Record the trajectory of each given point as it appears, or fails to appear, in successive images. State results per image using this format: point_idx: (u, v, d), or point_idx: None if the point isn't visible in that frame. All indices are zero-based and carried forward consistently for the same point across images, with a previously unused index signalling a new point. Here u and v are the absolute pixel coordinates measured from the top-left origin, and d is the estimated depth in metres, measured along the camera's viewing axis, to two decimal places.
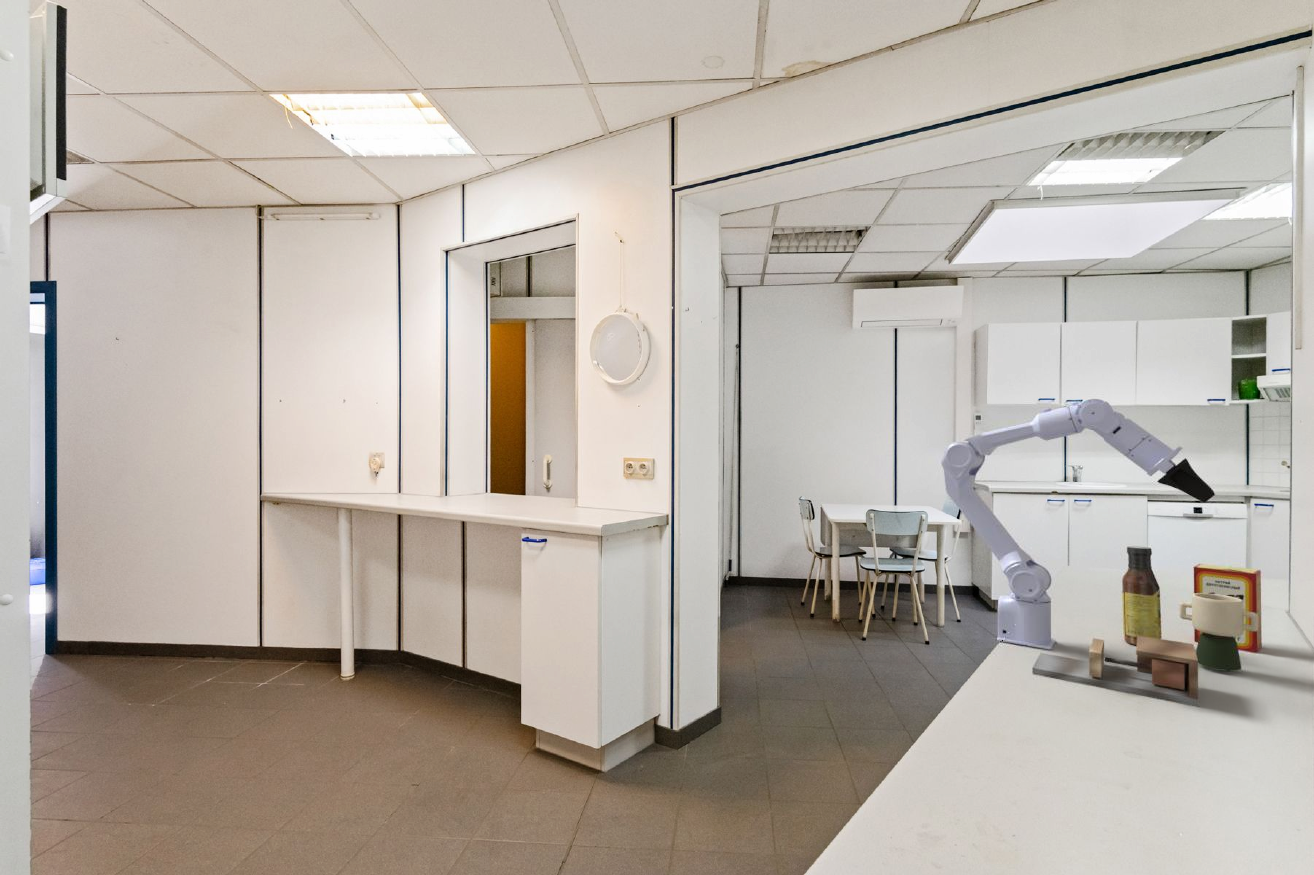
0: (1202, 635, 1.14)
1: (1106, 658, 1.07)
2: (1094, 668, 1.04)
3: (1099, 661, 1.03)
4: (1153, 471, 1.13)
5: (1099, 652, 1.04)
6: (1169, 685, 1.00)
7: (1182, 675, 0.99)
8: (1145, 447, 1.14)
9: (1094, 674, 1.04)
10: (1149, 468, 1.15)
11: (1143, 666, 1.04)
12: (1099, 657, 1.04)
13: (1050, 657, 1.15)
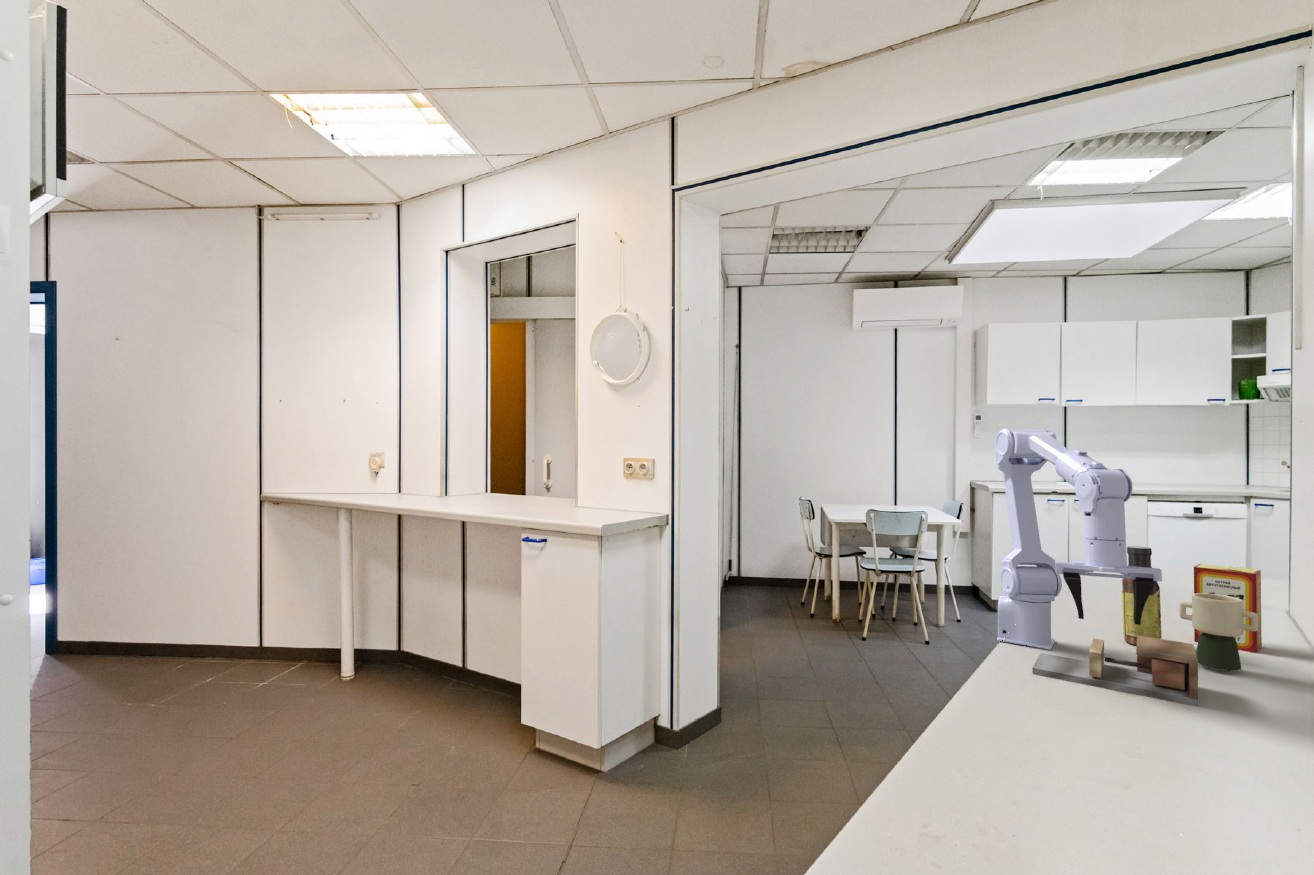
0: (1202, 635, 1.14)
1: (1106, 658, 1.07)
2: (1094, 668, 1.04)
3: (1099, 661, 1.03)
4: None
5: (1099, 652, 1.04)
6: (1169, 685, 1.00)
7: (1182, 675, 0.99)
8: (1085, 545, 1.07)
9: (1094, 674, 1.04)
10: None
11: (1143, 666, 1.04)
12: (1099, 657, 1.04)
13: (1050, 657, 1.15)
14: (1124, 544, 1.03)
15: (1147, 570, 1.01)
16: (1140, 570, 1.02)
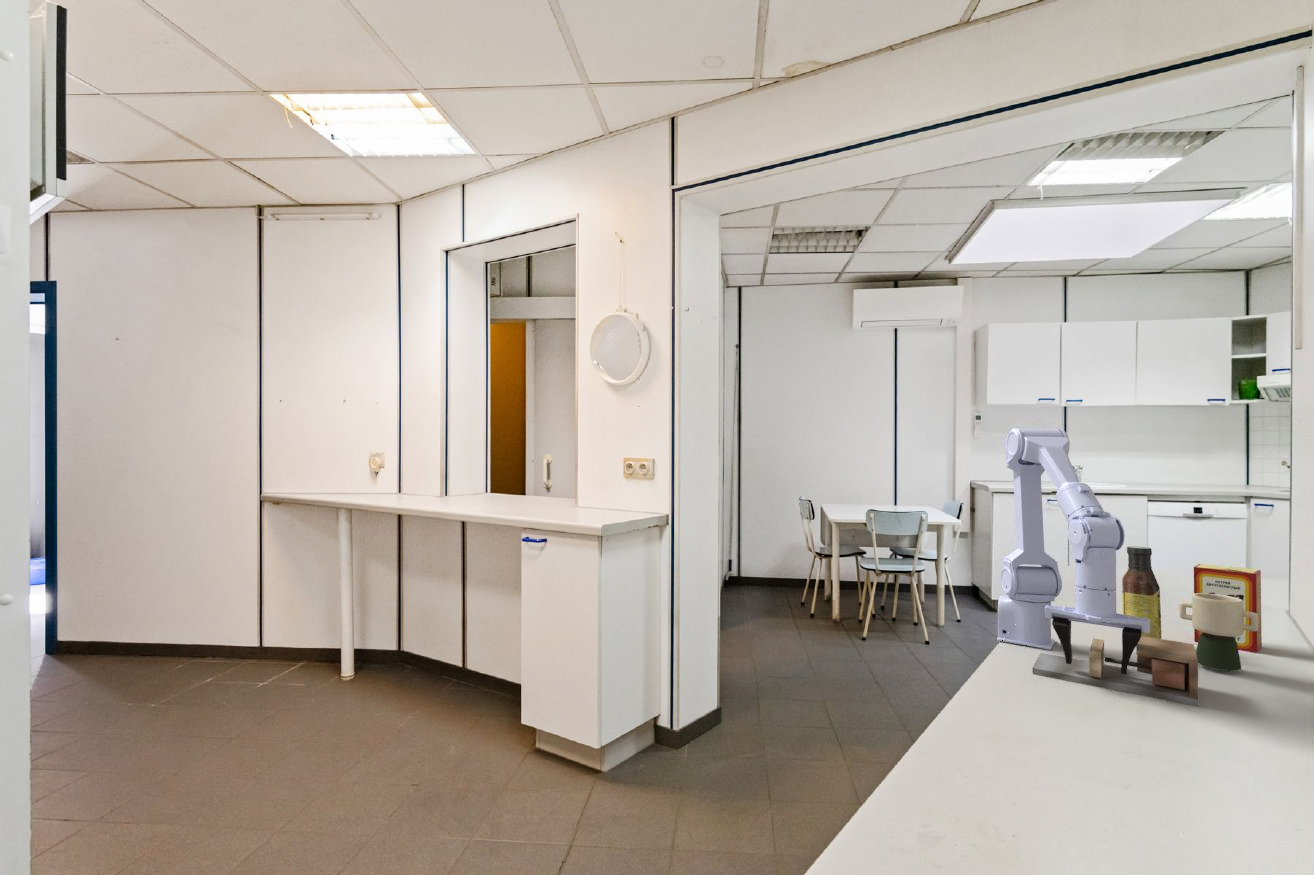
0: (1202, 635, 1.14)
1: (1106, 658, 1.07)
2: (1094, 668, 1.04)
3: (1099, 661, 1.03)
4: None
5: (1099, 652, 1.04)
6: (1169, 685, 1.00)
7: (1182, 675, 0.99)
8: (1075, 591, 1.07)
9: (1094, 674, 1.04)
10: None
11: (1143, 666, 1.04)
12: (1099, 657, 1.04)
13: (1050, 657, 1.15)
14: (1113, 594, 1.03)
15: (1135, 621, 1.01)
16: (1128, 621, 1.02)
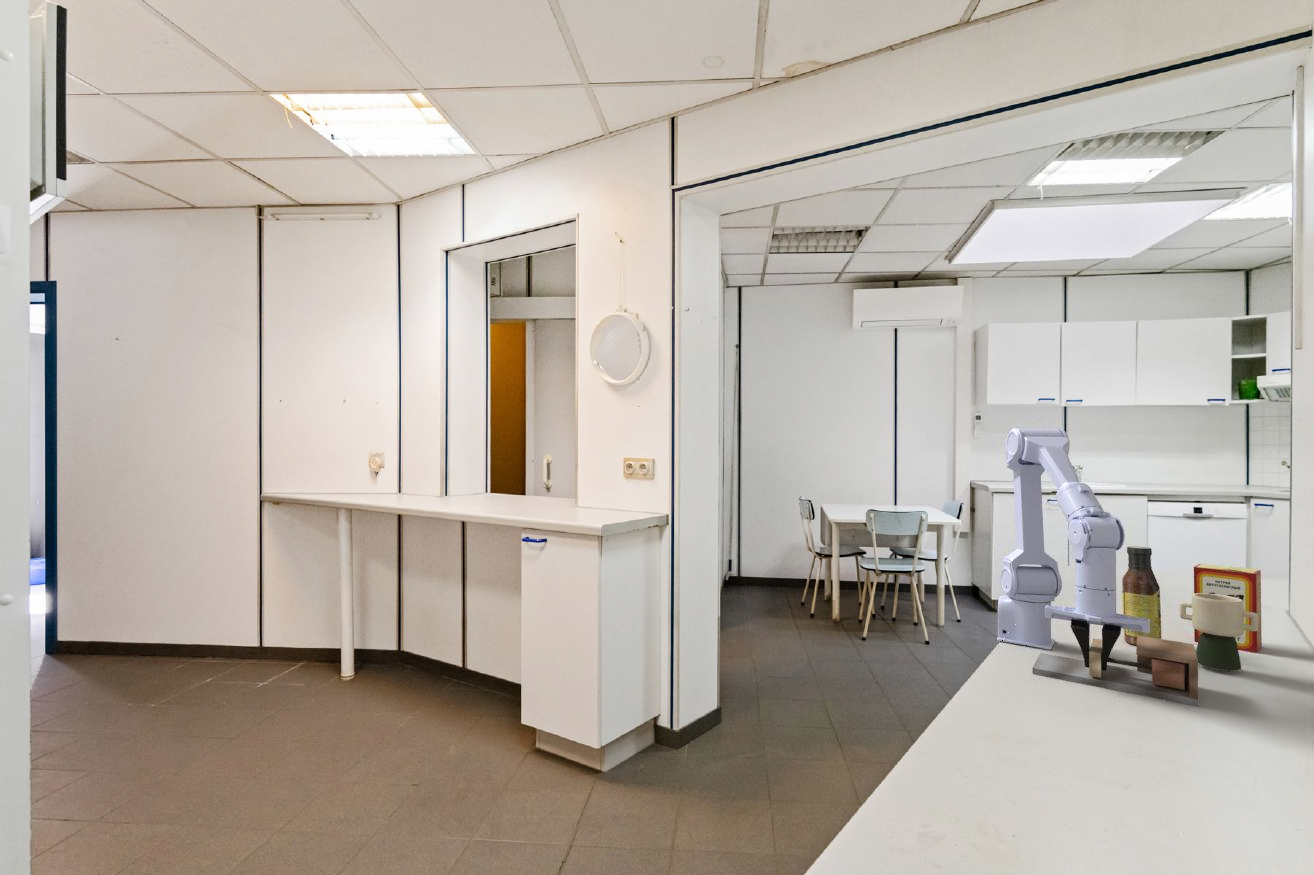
0: (1202, 635, 1.14)
1: None
2: (1094, 668, 1.04)
3: (1099, 661, 1.03)
4: (1070, 610, 1.09)
5: (1099, 652, 1.04)
6: (1169, 685, 1.00)
7: (1182, 675, 0.99)
8: (1075, 591, 1.07)
9: (1094, 674, 1.04)
10: None
11: (1143, 666, 1.04)
12: (1099, 657, 1.04)
13: (1050, 657, 1.15)
14: (1113, 594, 1.03)
15: (1135, 621, 1.01)
16: (1128, 621, 1.02)
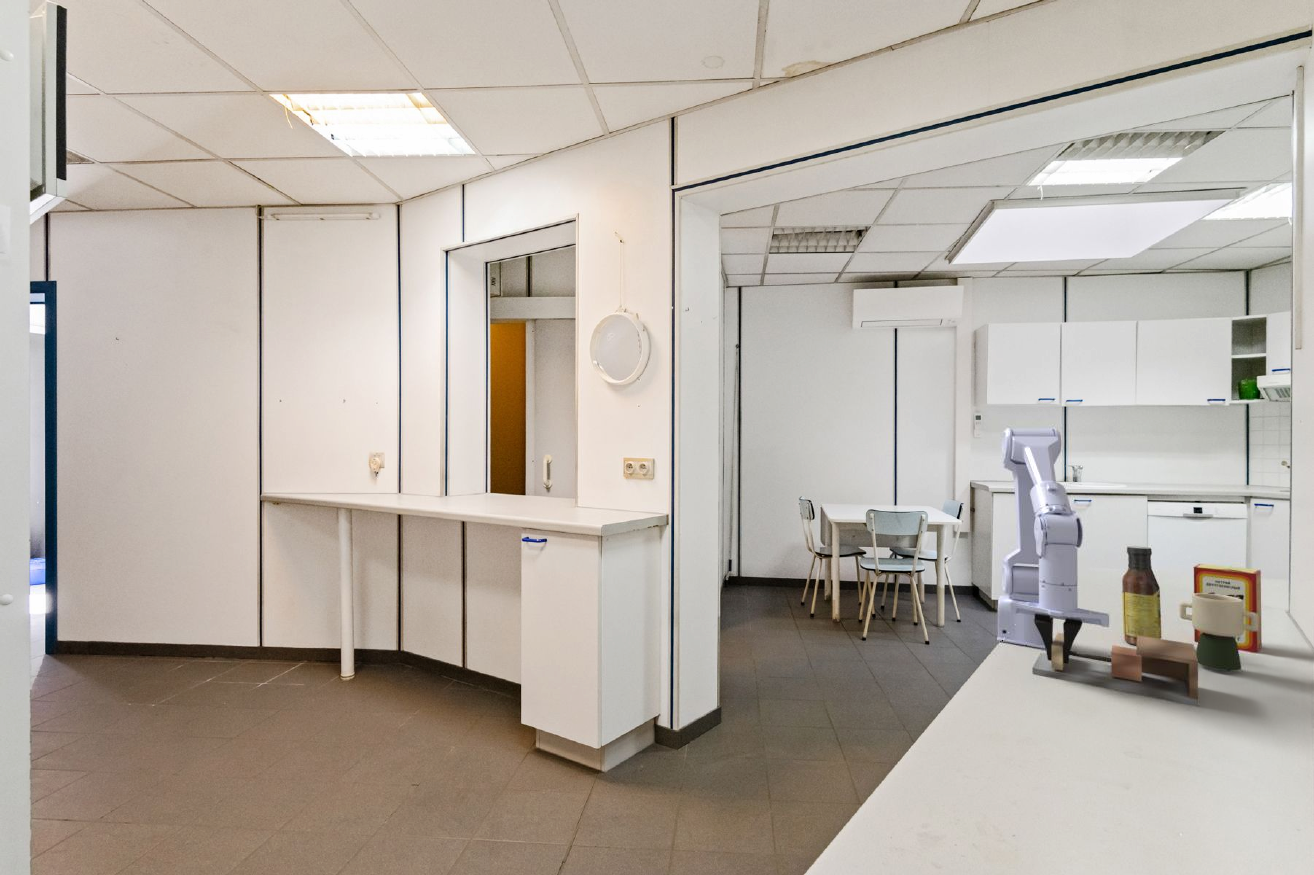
0: (1202, 635, 1.14)
1: None
2: (1056, 661, 1.07)
3: (1061, 654, 1.07)
4: None
5: (1061, 646, 1.07)
6: (1127, 677, 1.03)
7: (1139, 667, 1.02)
8: (1039, 587, 1.10)
9: (1056, 666, 1.07)
10: None
11: (1103, 659, 1.07)
12: (1061, 650, 1.07)
13: None
14: (1074, 589, 1.07)
15: (1095, 615, 1.05)
16: (1088, 615, 1.05)
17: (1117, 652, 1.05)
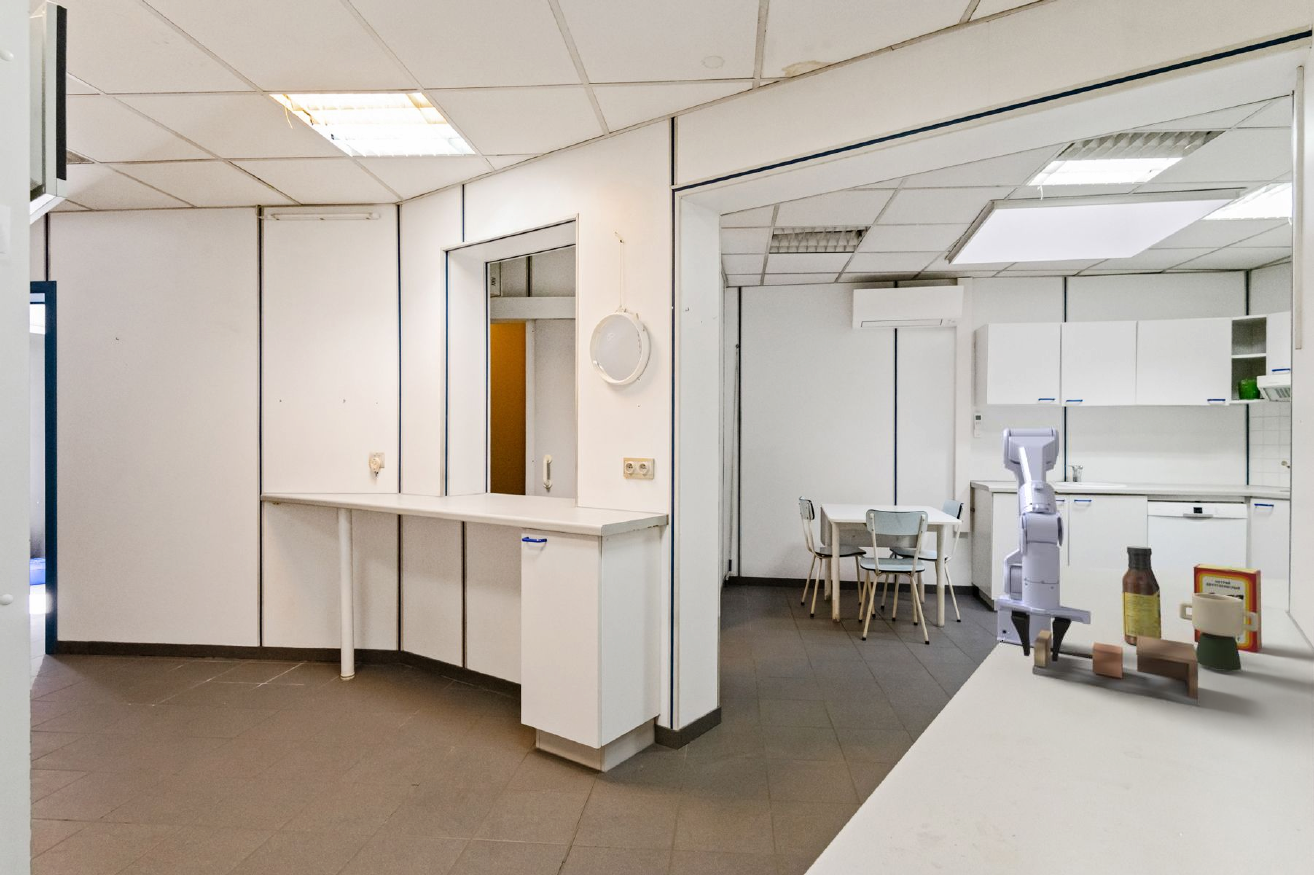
0: (1202, 635, 1.14)
1: (1051, 648, 1.12)
2: (1038, 657, 1.09)
3: (1043, 651, 1.08)
4: None
5: (1043, 643, 1.09)
6: (1108, 674, 1.05)
7: (1120, 664, 1.04)
8: (1022, 585, 1.12)
9: (1038, 663, 1.09)
10: None
11: (1085, 656, 1.08)
12: (1043, 647, 1.08)
13: (1050, 657, 1.15)
14: (1056, 587, 1.08)
15: (1076, 613, 1.06)
16: (1069, 613, 1.07)
17: (1098, 649, 1.06)
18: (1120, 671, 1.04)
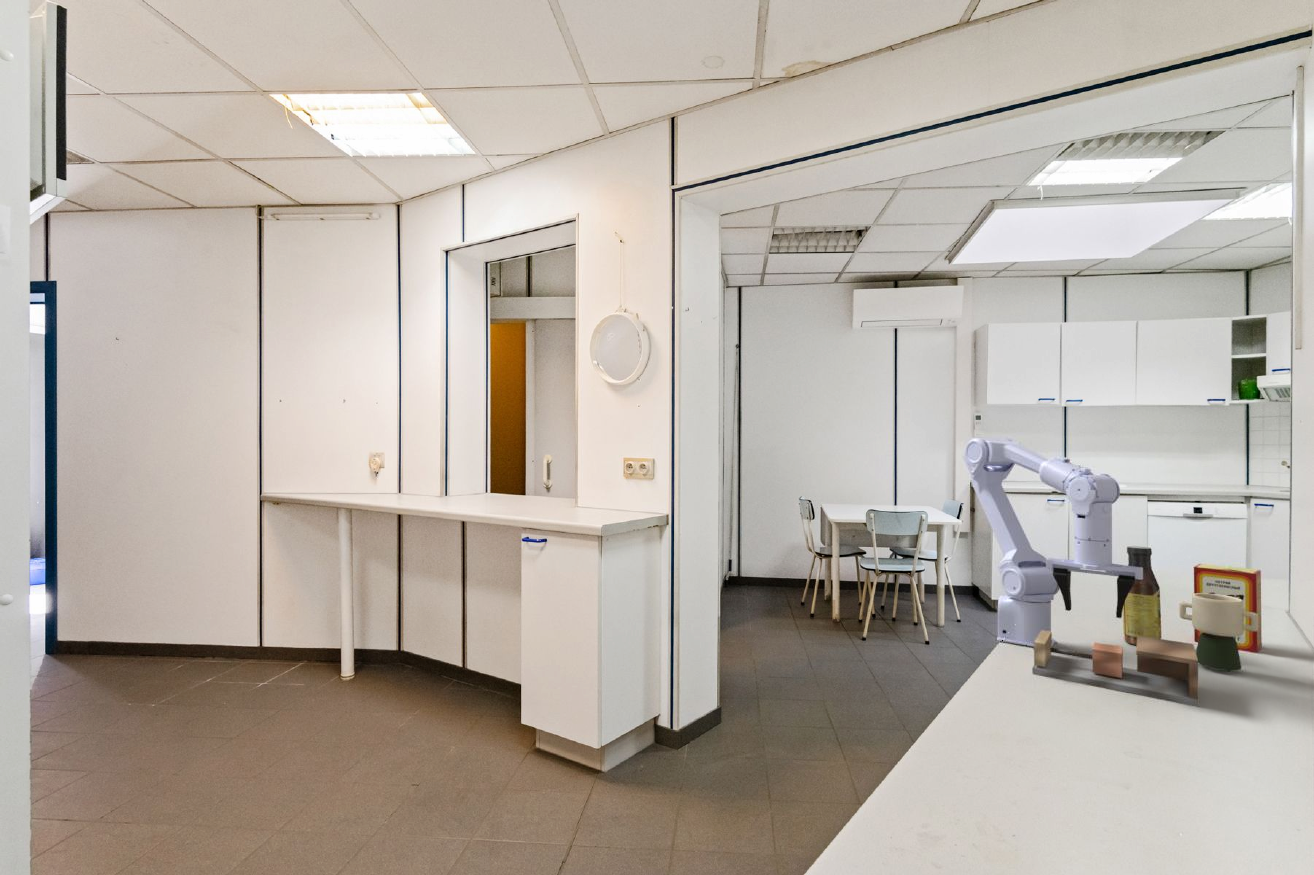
0: (1202, 635, 1.14)
1: (1051, 648, 1.12)
2: (1038, 657, 1.09)
3: (1043, 651, 1.08)
4: None
5: (1043, 643, 1.09)
6: (1108, 674, 1.05)
7: (1120, 664, 1.04)
8: (1074, 544, 1.16)
9: (1038, 663, 1.09)
10: None
11: (1085, 656, 1.08)
12: (1043, 647, 1.08)
13: (1050, 657, 1.15)
14: (1109, 544, 1.12)
15: (1129, 569, 1.10)
16: (1122, 569, 1.11)
17: (1098, 649, 1.06)
18: (1120, 671, 1.04)
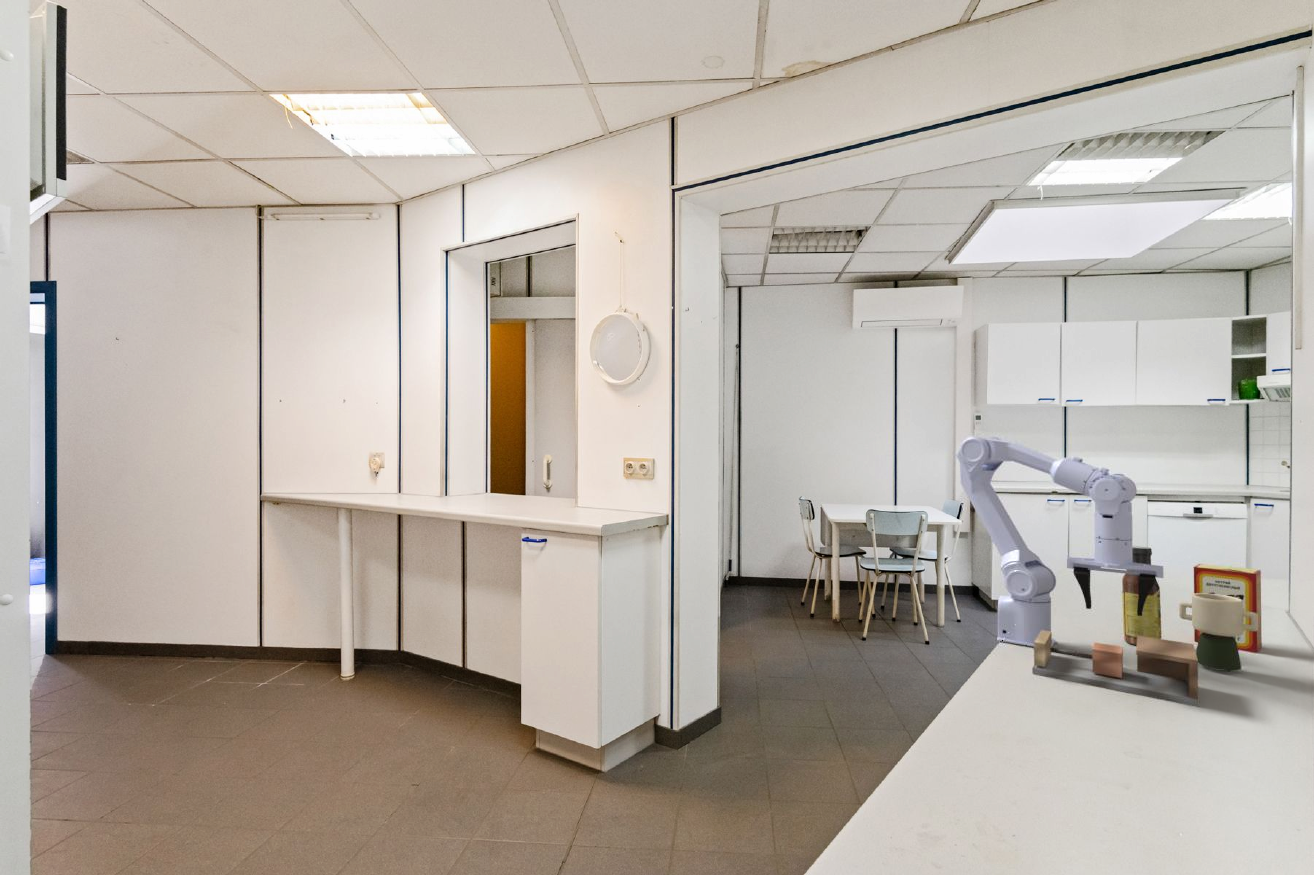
0: (1202, 635, 1.14)
1: (1051, 648, 1.12)
2: (1038, 657, 1.09)
3: (1043, 651, 1.08)
4: None
5: (1043, 643, 1.09)
6: (1108, 674, 1.05)
7: (1120, 664, 1.04)
8: (1095, 543, 1.18)
9: (1038, 663, 1.09)
10: None
11: (1085, 656, 1.08)
12: (1043, 647, 1.08)
13: (1050, 657, 1.15)
14: (1130, 543, 1.14)
15: (1150, 567, 1.12)
16: (1143, 567, 1.12)
17: (1098, 649, 1.06)
18: (1120, 671, 1.04)
